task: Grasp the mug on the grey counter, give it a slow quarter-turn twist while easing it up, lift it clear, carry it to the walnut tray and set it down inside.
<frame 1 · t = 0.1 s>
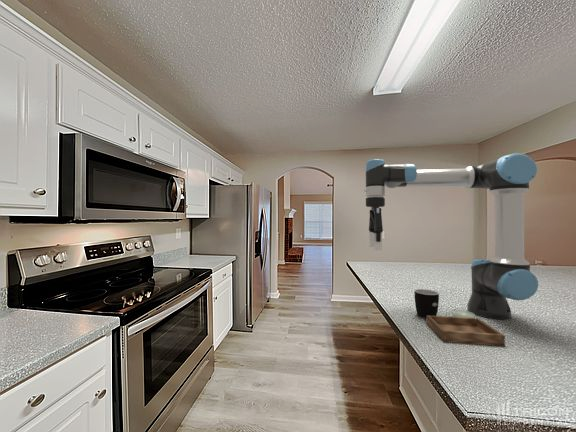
hand: (375, 248, 108), 28 cm above the countertop, fingers open, 13 cm apart
walnut tray: (461, 334, 91), on the countertop
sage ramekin: (464, 323, 102), on the countertop
mug: (428, 316, 109), on the countertop
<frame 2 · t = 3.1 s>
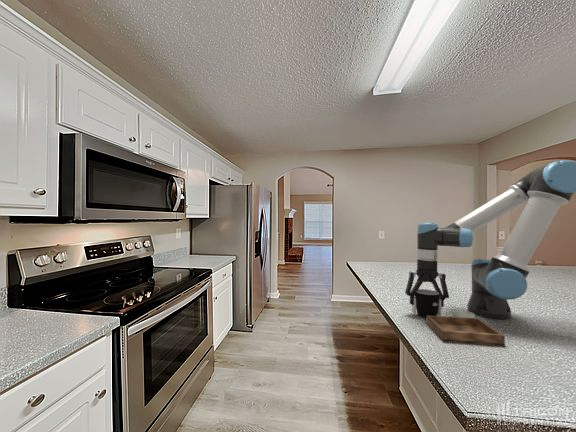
hand: (426, 313, 110), 1 cm above the countertop, fingers closed on mug, 9 cm apart
mug: (428, 316, 109), on the countertop, touching gripper
everything else where it was.
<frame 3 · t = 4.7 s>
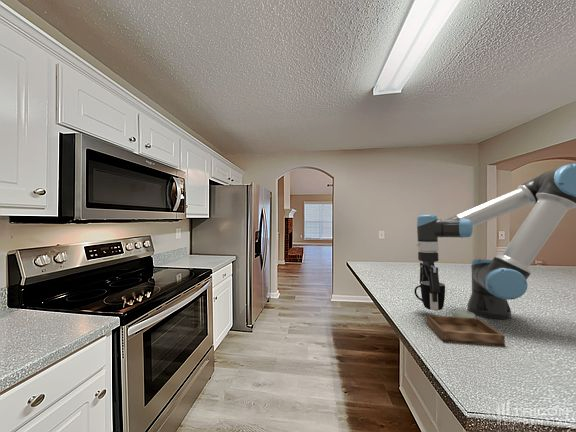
hand: (429, 305, 109), 4 cm above the countertop, fingers closed on mug, 9 cm apart
mug: (429, 307, 110), point 3 cm above the countertop, touching gripper
everything else where it was.
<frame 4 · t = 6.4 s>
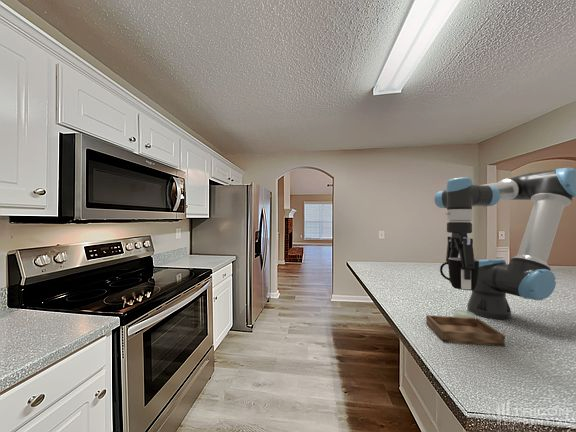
hand: (459, 285, 92), 17 cm above the countertop, fingers closed on mug, 9 cm apart
mug: (458, 287, 93), point 16 cm above the countertop, touching gripper
everything else where it was.
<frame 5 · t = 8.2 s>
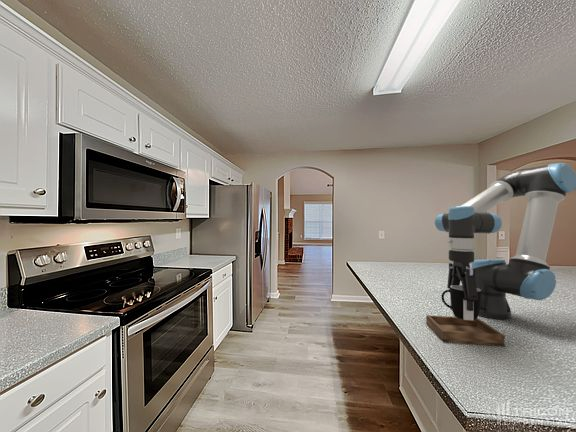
hand: (461, 314, 91), 7 cm above the countertop, fingers closed on mug, 9 cm apart
mug: (460, 316, 92), point 6 cm above the countertop, touching gripper
everything else where it was.
when the fingers open (3 cm above the countertop, at t = 9.4 s): mug drops 2 cm, resting on walnut tray.
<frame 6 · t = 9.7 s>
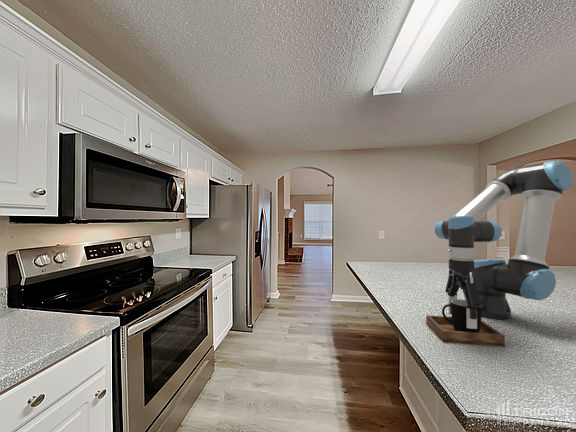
hand: (461, 320, 91), 5 cm above the countertop, fingers open, 13 cm apart
mug: (461, 331, 92), point 1 cm above the countertop, touching walnut tray
everything else where it was.
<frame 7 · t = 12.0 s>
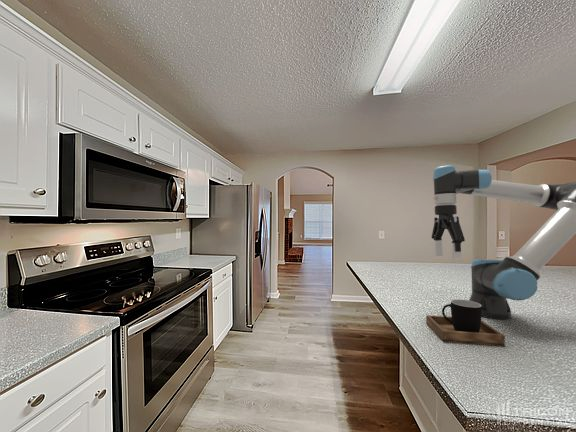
hand: (447, 258, 105), 25 cm above the countertop, fingers open, 13 cm apart
nothing on the countertop moved.
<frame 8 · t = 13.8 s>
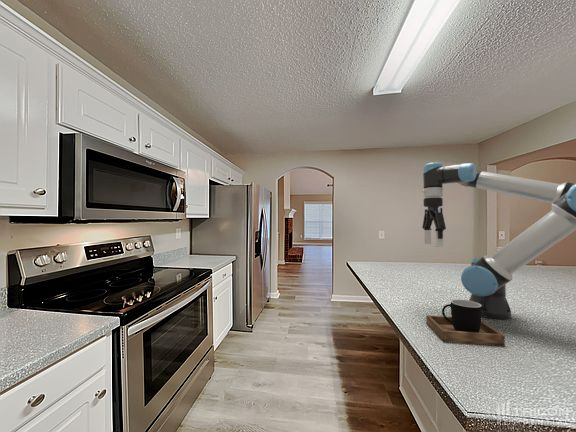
hand: (433, 245, 117), 29 cm above the countertop, fingers open, 13 cm apart
nothing on the countertop moved.
at the end: mug inside the target area on the walnut tray (0.4 cm from its centre), point 0.6 cm above the walnut tray's base; mug tilted 0°; the gripper is holding nothing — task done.
